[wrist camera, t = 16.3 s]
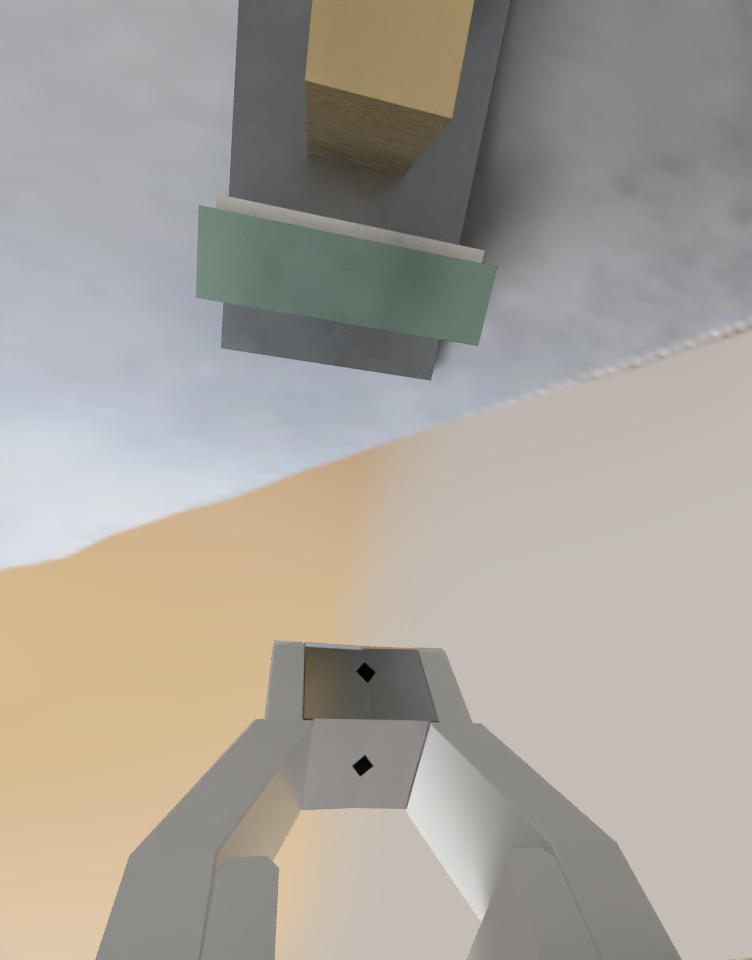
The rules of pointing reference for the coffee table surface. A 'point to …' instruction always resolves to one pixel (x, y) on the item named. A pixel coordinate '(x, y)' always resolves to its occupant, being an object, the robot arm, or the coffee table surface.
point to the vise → (345, 179)
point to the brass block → (382, 78)
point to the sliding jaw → (340, 271)
